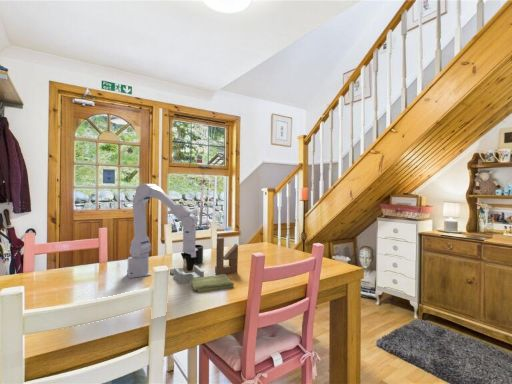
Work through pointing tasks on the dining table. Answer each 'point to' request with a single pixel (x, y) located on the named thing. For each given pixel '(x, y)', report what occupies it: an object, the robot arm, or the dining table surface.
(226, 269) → the brown angular piece
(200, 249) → the mug
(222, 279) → the washcloth
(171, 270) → the pad
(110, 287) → the dining table surface
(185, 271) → the block
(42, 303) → the dining table surface
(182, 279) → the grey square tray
